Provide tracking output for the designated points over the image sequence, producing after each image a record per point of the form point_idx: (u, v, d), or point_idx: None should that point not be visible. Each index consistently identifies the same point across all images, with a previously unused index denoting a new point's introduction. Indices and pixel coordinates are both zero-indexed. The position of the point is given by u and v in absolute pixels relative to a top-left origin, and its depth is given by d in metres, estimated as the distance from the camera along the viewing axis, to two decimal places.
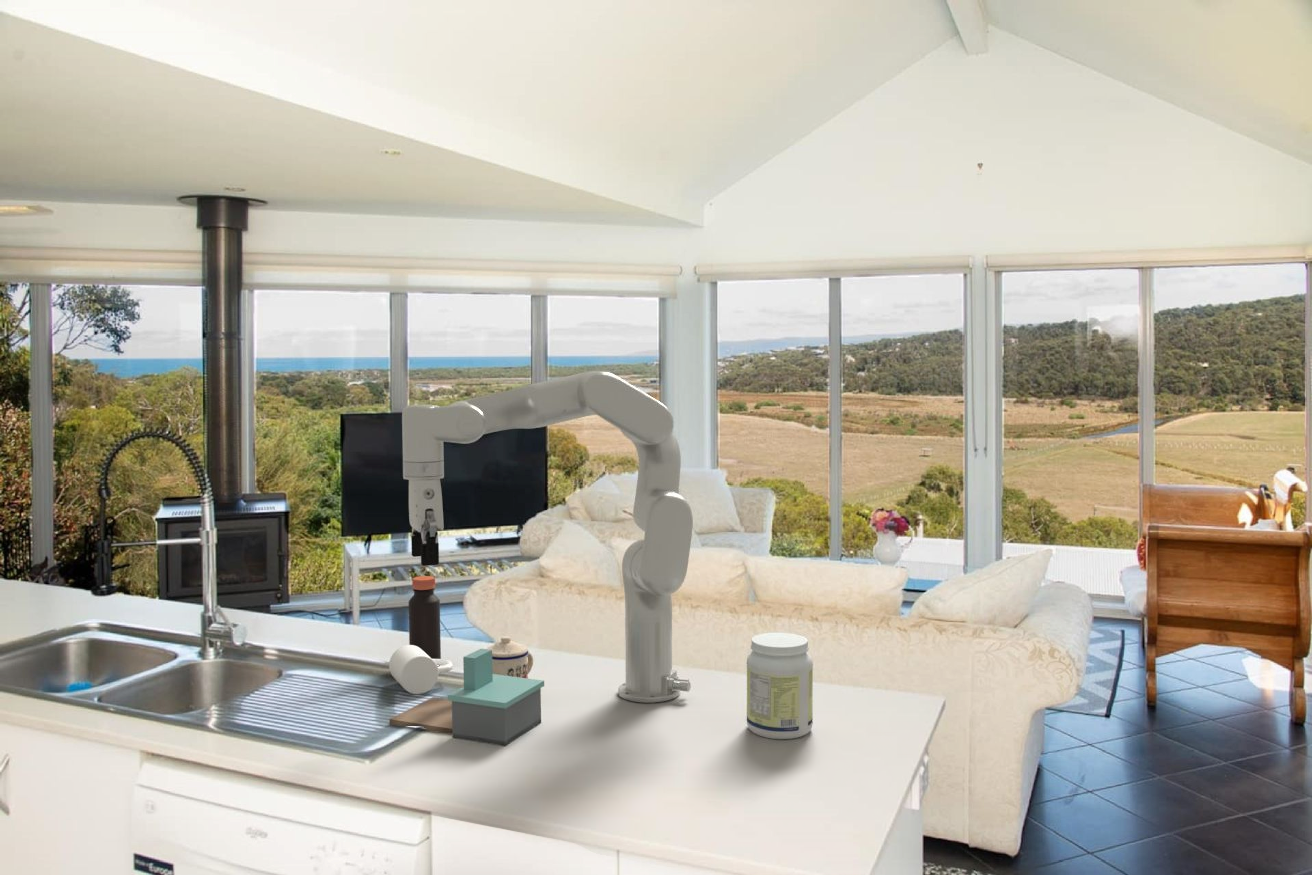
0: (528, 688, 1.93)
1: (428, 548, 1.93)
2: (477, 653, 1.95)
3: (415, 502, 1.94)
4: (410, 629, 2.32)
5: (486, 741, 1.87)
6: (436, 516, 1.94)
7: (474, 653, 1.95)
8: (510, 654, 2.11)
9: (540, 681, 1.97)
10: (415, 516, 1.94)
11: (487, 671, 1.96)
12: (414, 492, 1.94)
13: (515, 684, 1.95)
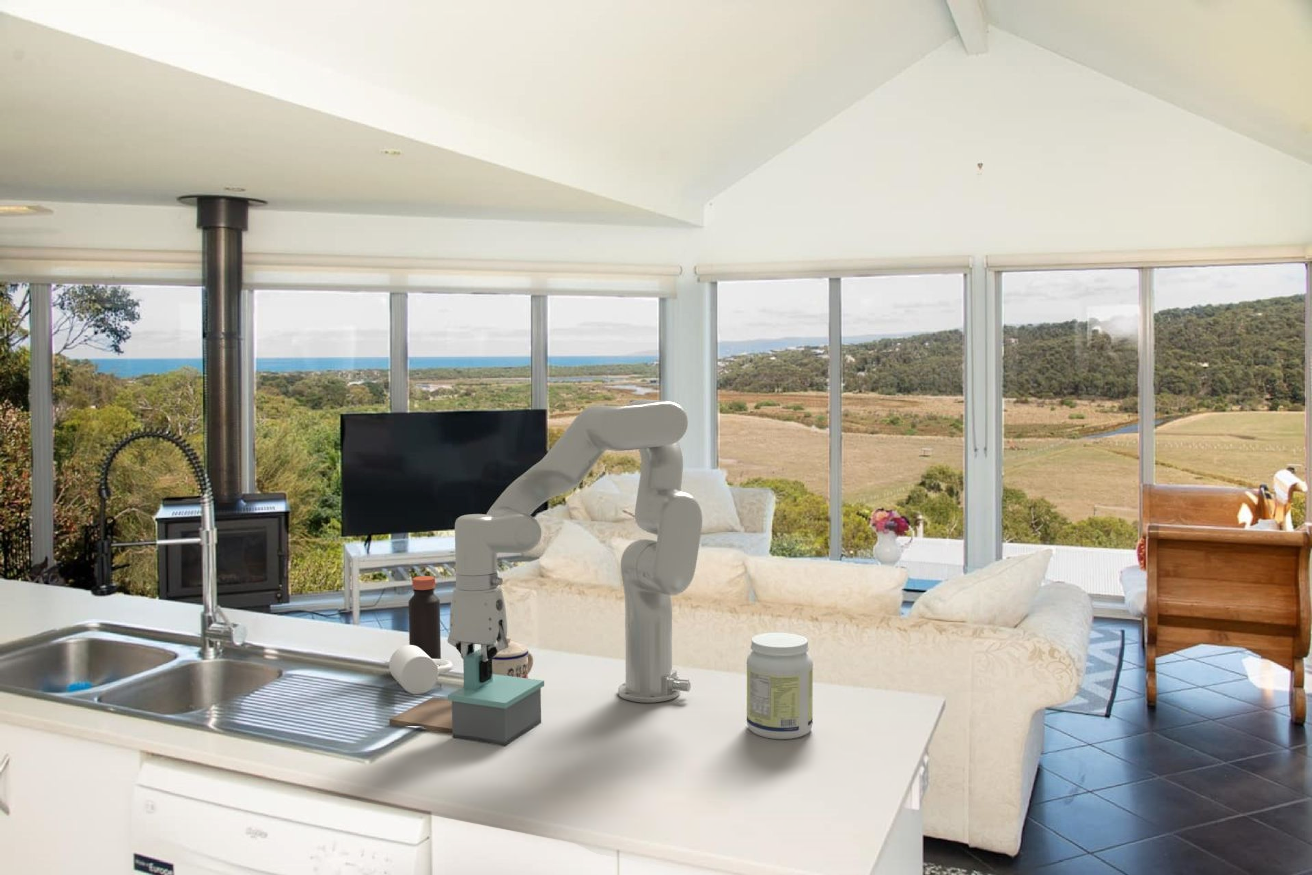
0: (528, 688, 1.93)
1: (488, 664, 1.93)
2: (477, 653, 1.95)
3: (485, 615, 1.91)
4: (410, 629, 2.32)
5: (486, 741, 1.87)
6: (504, 626, 1.93)
7: (474, 653, 1.95)
8: (510, 654, 2.11)
9: (540, 681, 1.97)
10: (485, 629, 1.91)
11: None
12: (484, 605, 1.91)
13: (515, 684, 1.95)
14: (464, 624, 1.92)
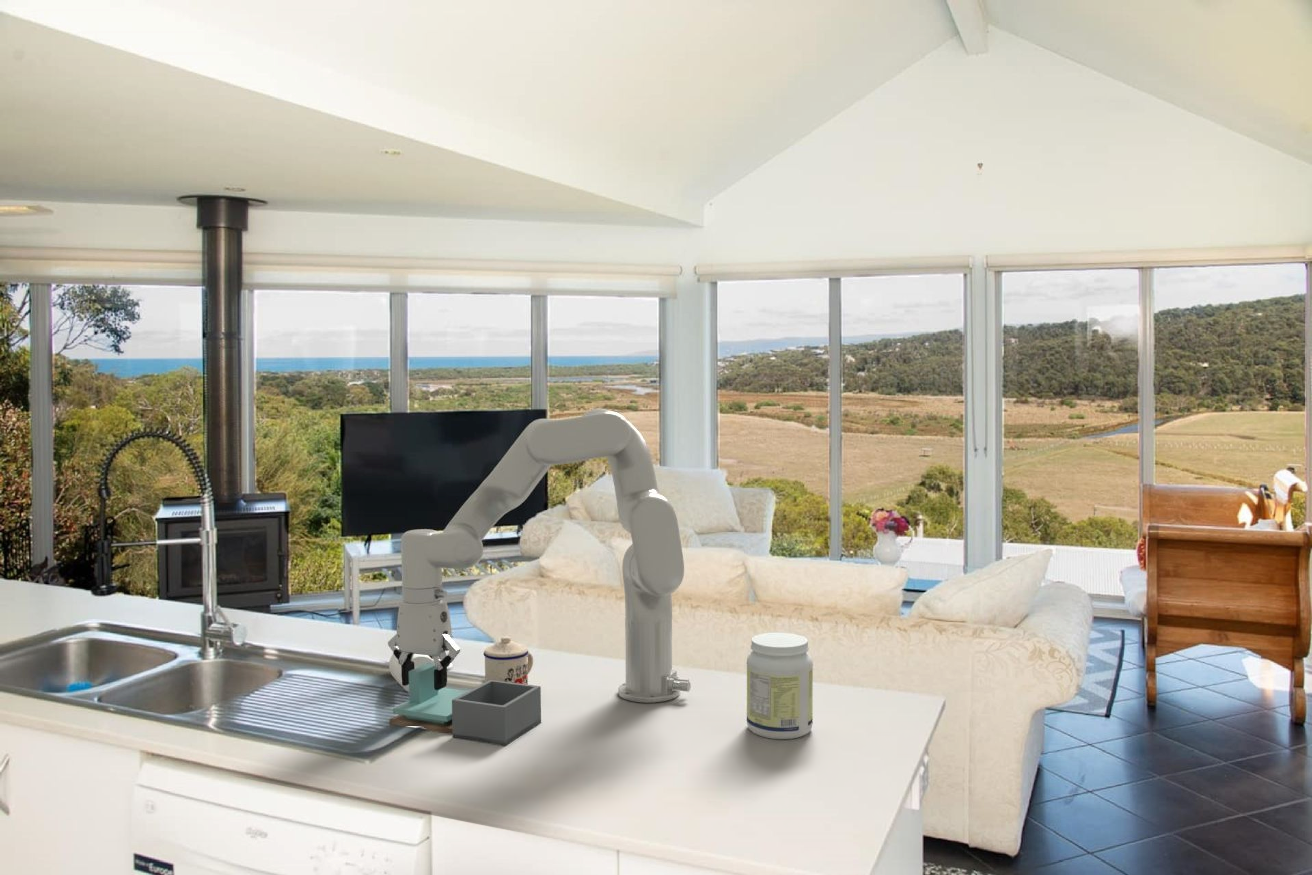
0: None
1: (443, 672, 2.00)
2: (422, 668, 2.02)
3: (430, 627, 1.98)
4: None
5: (486, 741, 1.87)
6: (449, 637, 2.01)
7: (419, 668, 2.02)
8: (510, 654, 2.11)
9: None
10: (430, 641, 1.98)
11: (433, 685, 2.03)
12: (429, 617, 1.98)
13: None
14: (410, 635, 2.00)
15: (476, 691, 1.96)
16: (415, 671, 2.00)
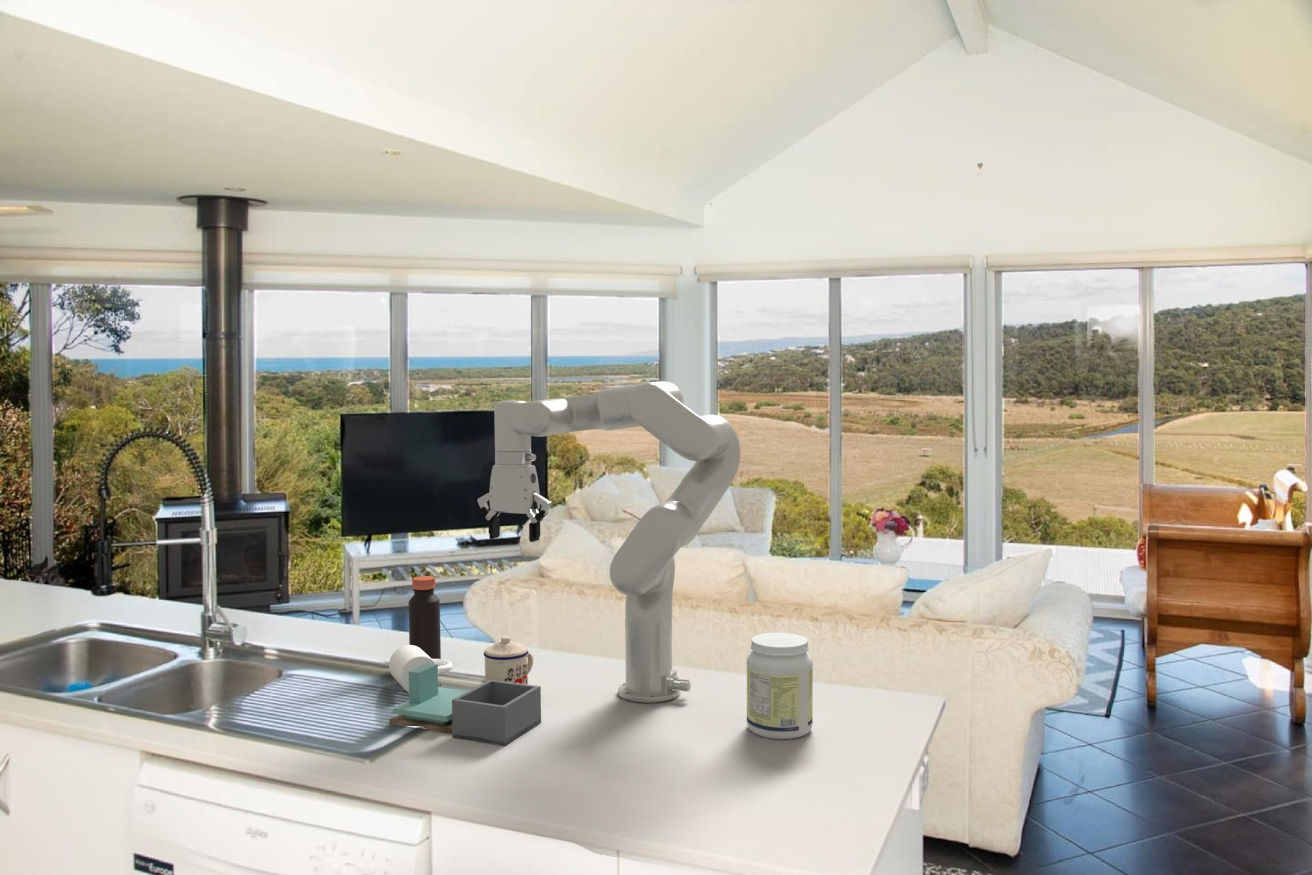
0: None
1: (537, 526, 2.20)
2: (422, 668, 2.02)
3: (521, 487, 2.18)
4: (410, 629, 2.32)
5: (486, 741, 1.87)
6: None
7: (419, 668, 2.02)
8: (510, 654, 2.11)
9: None
10: (521, 499, 2.18)
11: (433, 685, 2.03)
12: (520, 478, 2.18)
13: None
14: (502, 495, 2.20)
15: (476, 691, 1.96)
16: (415, 671, 2.00)
